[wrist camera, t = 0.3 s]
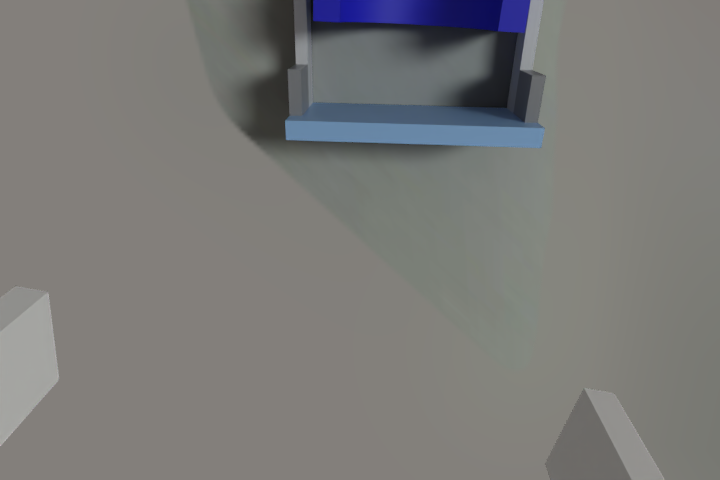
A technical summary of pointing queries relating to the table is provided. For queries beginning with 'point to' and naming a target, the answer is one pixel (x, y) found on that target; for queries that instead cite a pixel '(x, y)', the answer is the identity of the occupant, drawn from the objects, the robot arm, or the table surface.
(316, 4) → the blue arched bracket piece
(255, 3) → the table surface
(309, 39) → the blue wall bracket
